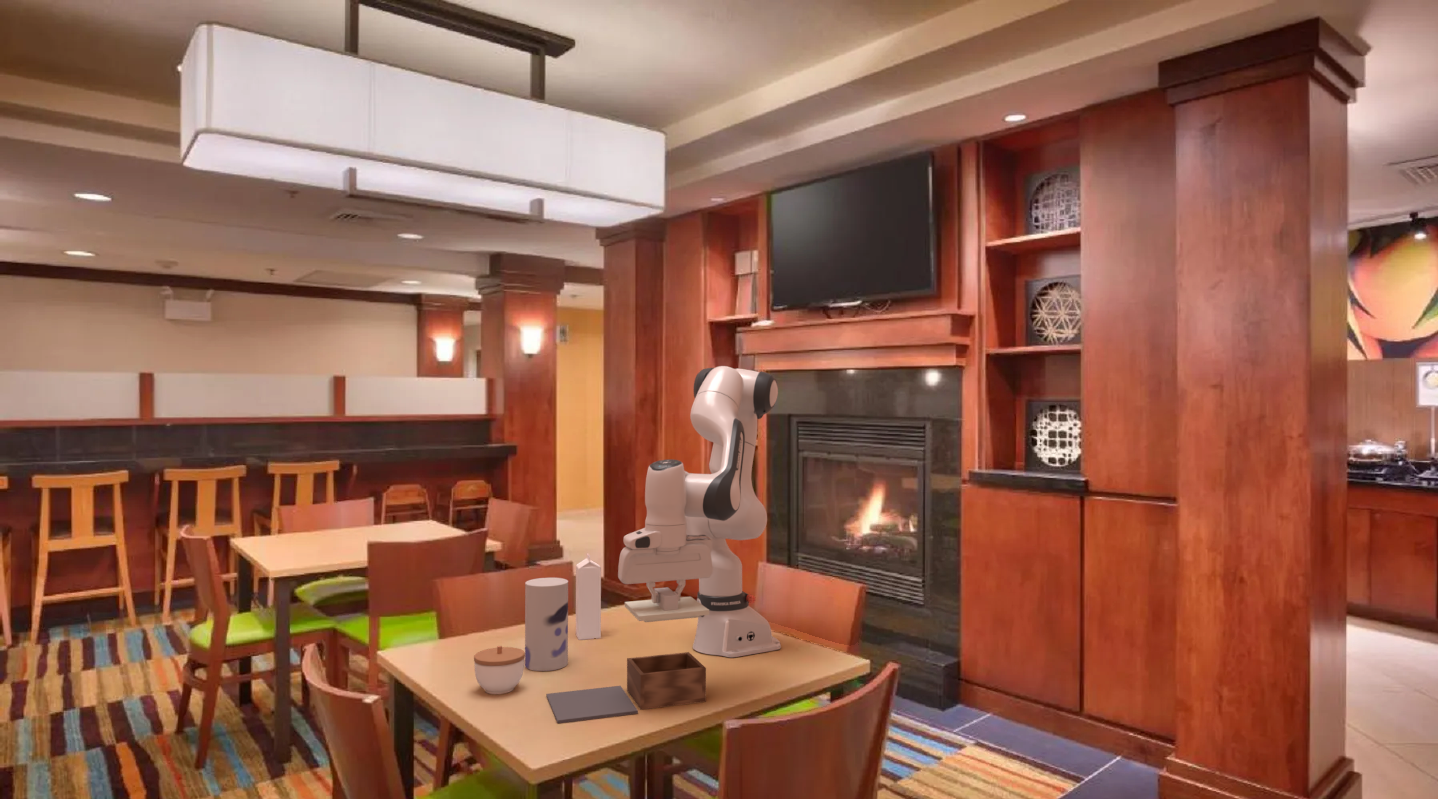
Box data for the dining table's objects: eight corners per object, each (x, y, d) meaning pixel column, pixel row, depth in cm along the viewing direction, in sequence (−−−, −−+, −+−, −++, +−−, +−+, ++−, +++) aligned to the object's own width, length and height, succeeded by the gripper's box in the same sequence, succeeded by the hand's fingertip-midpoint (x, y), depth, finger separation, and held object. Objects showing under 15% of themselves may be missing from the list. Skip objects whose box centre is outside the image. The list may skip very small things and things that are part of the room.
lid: (690, 604, 185) (690, 583, 185) (709, 618, 173) (709, 595, 173) (624, 610, 180) (624, 588, 180) (639, 625, 168) (639, 601, 168)
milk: (578, 640, 219) (577, 556, 219) (575, 634, 225) (575, 552, 225) (601, 638, 221) (600, 555, 221) (598, 632, 227) (597, 551, 227)
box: (688, 683, 184) (688, 652, 184) (705, 701, 173) (705, 667, 173) (627, 690, 179) (627, 658, 180) (640, 709, 168) (640, 674, 168)
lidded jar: (479, 682, 185) (479, 640, 185) (528, 681, 186) (528, 639, 186) (468, 698, 174) (469, 654, 175) (520, 697, 175) (520, 652, 176)
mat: (620, 688, 181) (620, 685, 181) (638, 713, 166) (638, 710, 166) (546, 696, 176) (546, 693, 176) (557, 723, 161) (557, 720, 161)
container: (558, 673, 192) (558, 586, 192) (517, 670, 194) (518, 584, 194) (574, 660, 201) (574, 577, 202) (535, 657, 203) (536, 576, 204)
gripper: (707, 531, 183) (707, 594, 183) (616, 537, 176) (616, 602, 176) (716, 536, 177) (716, 600, 177) (622, 541, 170) (623, 609, 170)
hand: (666, 601), depth 177 cm, fingers closed on lid, 3 cm apart
